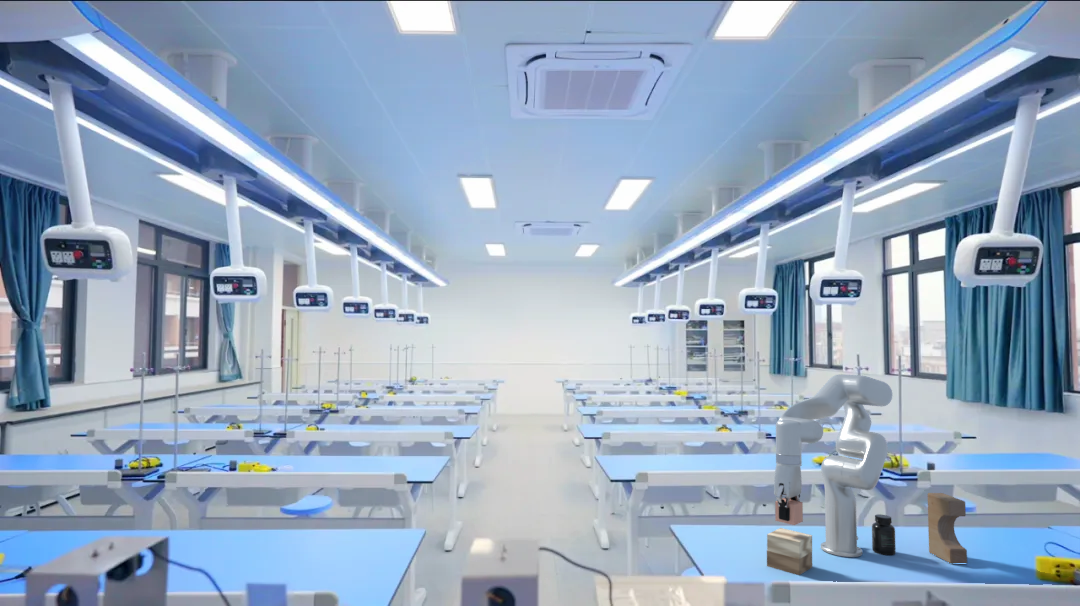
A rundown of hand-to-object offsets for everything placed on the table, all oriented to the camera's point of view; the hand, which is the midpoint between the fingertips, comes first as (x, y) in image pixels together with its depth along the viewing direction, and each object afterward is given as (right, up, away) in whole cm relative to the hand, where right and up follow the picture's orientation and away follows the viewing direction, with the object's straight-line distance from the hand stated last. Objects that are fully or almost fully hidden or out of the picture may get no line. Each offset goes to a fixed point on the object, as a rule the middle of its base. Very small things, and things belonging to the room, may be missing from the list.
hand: (789, 517), depth 188 cm
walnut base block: (0, -15, -1) cm, 15 cm away
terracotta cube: (0, -1, 0) cm, 1 cm away
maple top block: (0, -10, 0) cm, 10 cm away
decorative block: (+56, -17, +9) cm, 59 cm away
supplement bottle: (+38, -17, +14) cm, 44 cm away
